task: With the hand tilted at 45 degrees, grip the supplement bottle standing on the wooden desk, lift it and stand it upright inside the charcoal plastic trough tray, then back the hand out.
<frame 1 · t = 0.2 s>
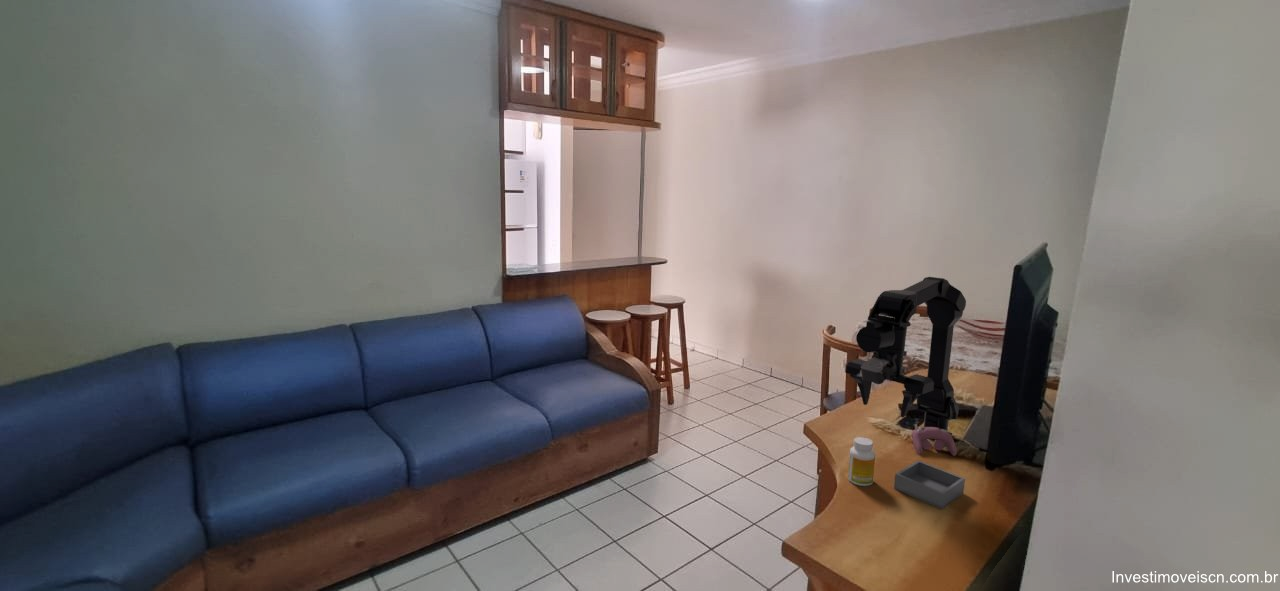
hand: (883, 410, 127), 14 cm above the table, tool pointing down, fingers open, 9 cm apart
trough tray: (928, 490, 119), on the table
supplement bottle: (860, 481, 124), on the table
video game controller: (932, 451, 138), on the table
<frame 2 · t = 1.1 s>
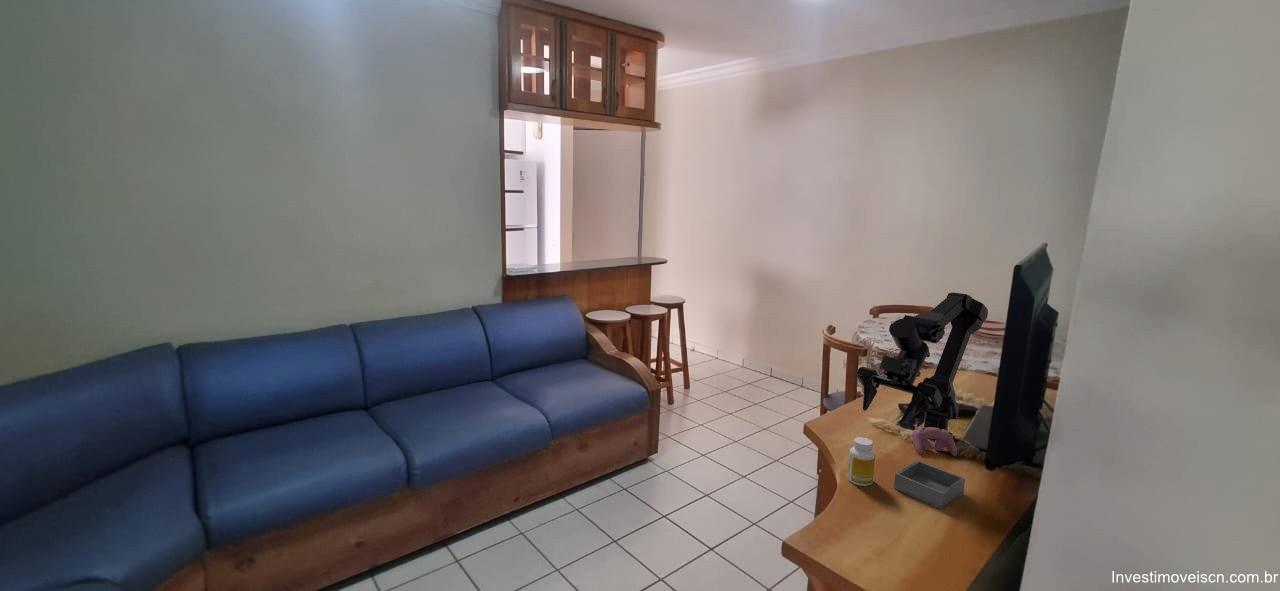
hand: (882, 416, 126), 13 cm above the table, tool tilted 45°, fingers open, 9 cm apart
nothing on the table moved.
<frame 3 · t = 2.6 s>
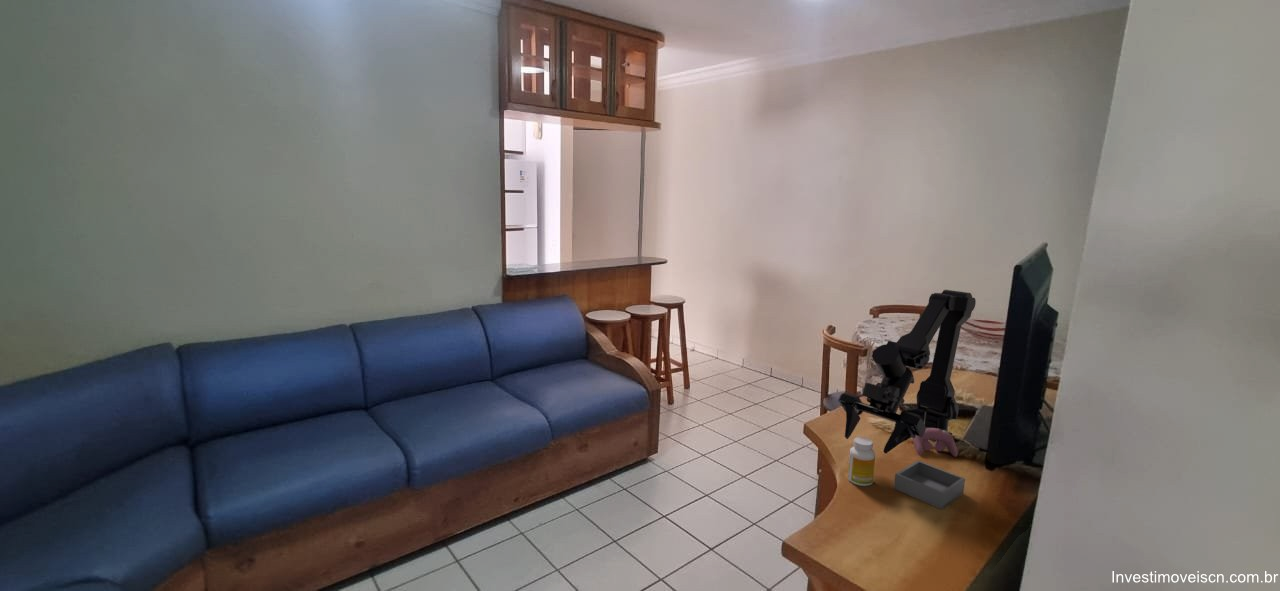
hand: (864, 445, 122), 8 cm above the table, tool tilted 45°, fingers open, 9 cm apart
nothing on the table moved.
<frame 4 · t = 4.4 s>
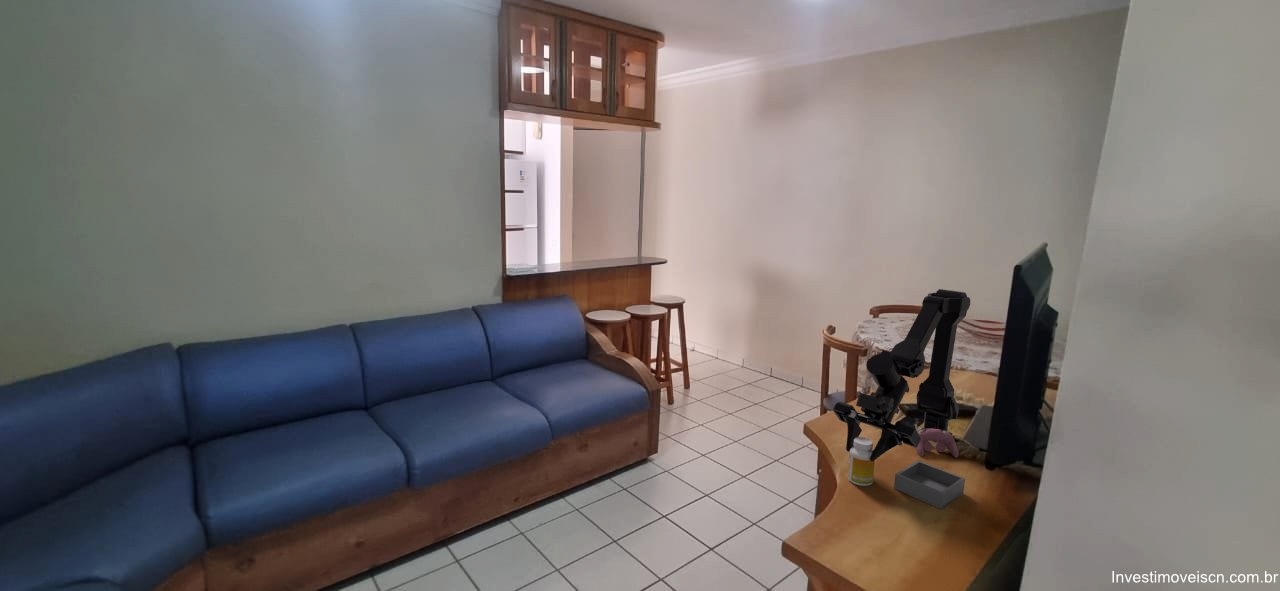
hand: (859, 455, 122), 7 cm above the table, tool tilted 45°, fingers closed on supplement bottle, 5 cm apart
supplement bottle: (860, 481, 124), on the table, touching gripper
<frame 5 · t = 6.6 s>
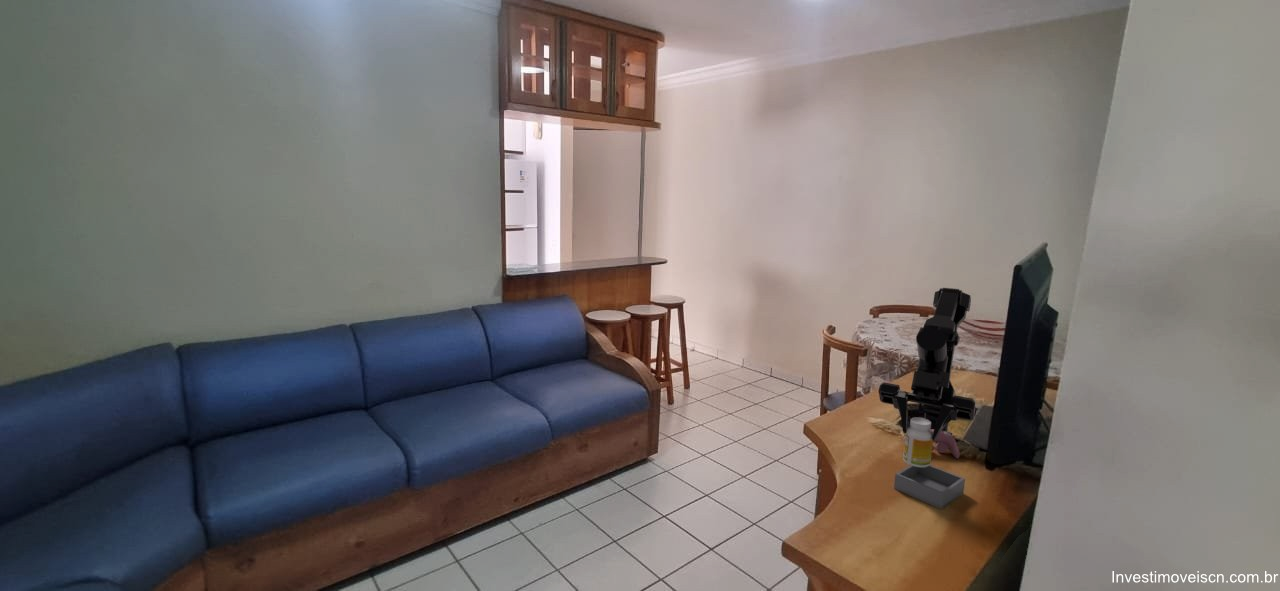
hand: (918, 436, 116), 13 cm above the table, tool tilted 45°, fingers closed on supplement bottle, 5 cm apart
supplement bottle: (916, 462, 119), point 6 cm above the table, touching gripper
when the fingers open (8 cm above the table, at t = 9.1 s): supplement bottle stays where it is, resting on trough tray.
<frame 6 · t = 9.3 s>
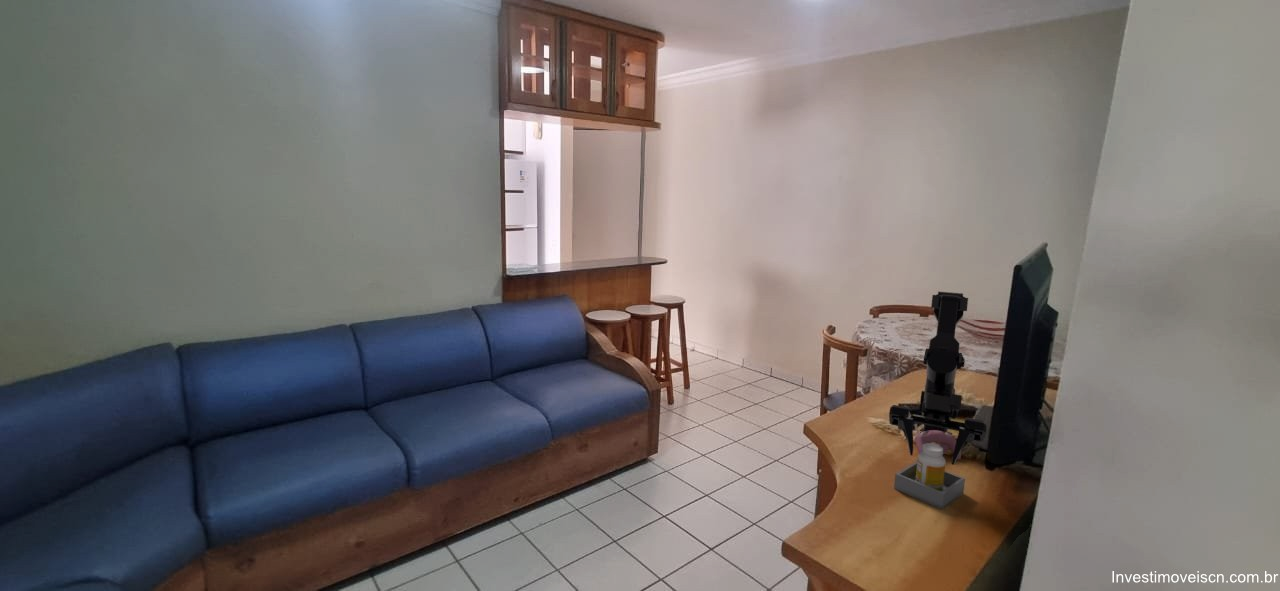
hand: (931, 459, 117), 8 cm above the table, tool tilted 45°, fingers open, 8 cm apart
supplement bottle: (928, 488, 119), resting on trough tray
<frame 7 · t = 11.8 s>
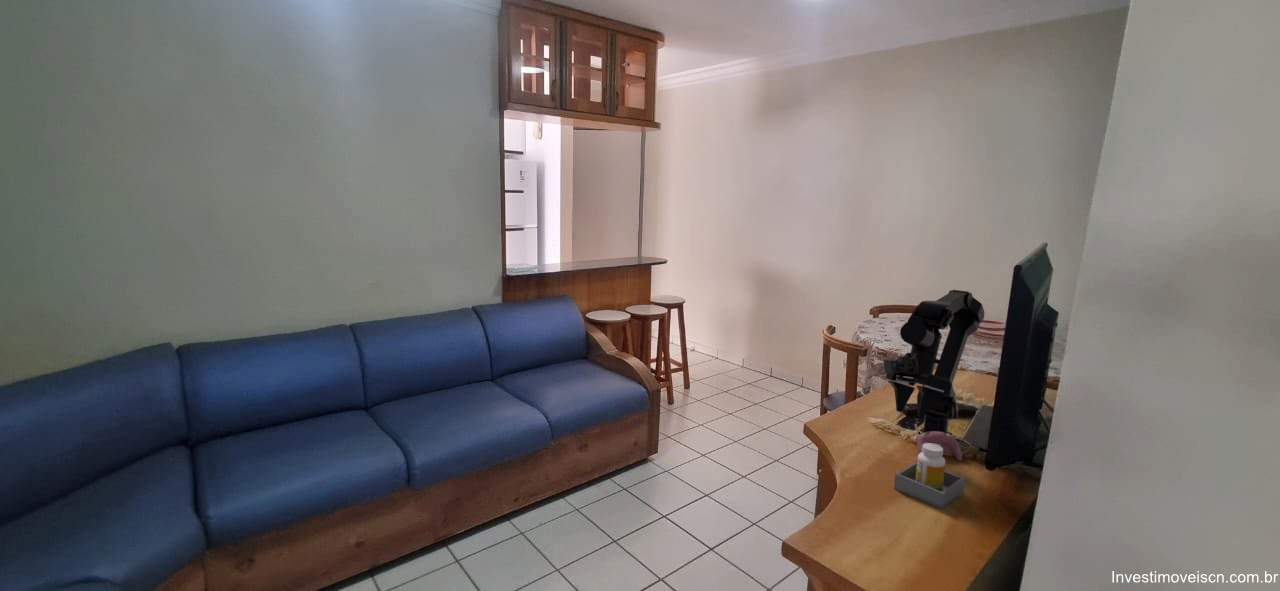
hand: (909, 414, 131), 12 cm above the table, tool tilted 25°, fingers open, 9 cm apart
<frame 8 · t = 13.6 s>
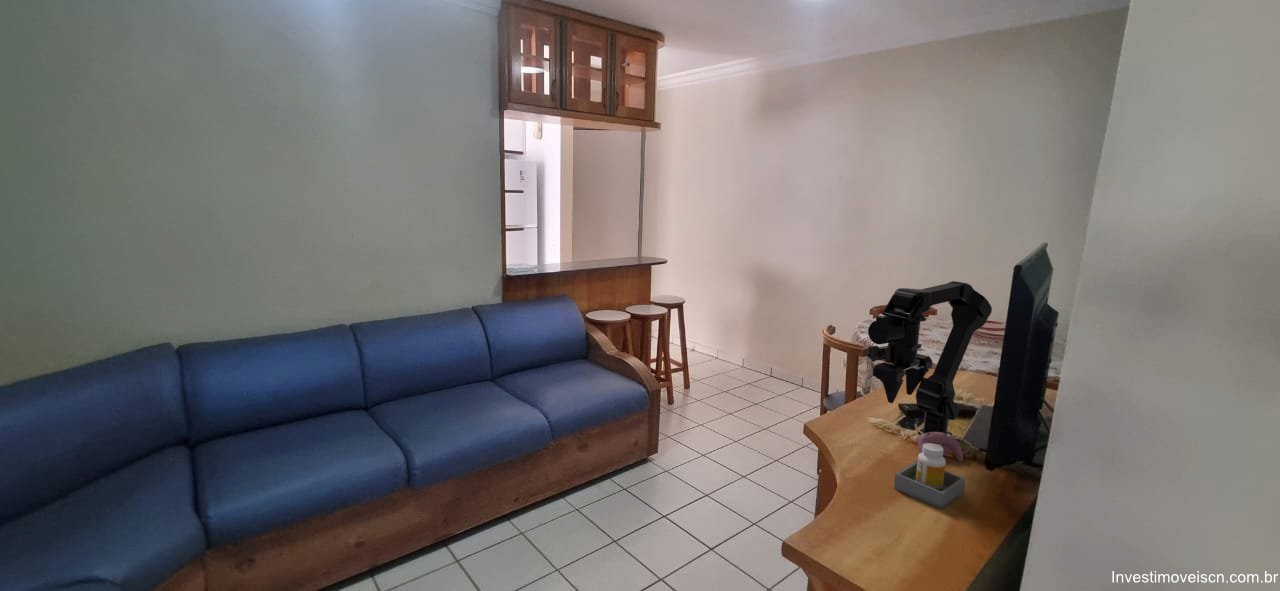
hand: (899, 398, 138), 13 cm above the table, tool pointing down, fingers open, 9 cm apart
at the end: supplement bottle 0.2 cm off-centre on the trough tray, point 0.4 cm above the trough tray's base; supplement bottle tilted 0°; the gripper is holding nothing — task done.
